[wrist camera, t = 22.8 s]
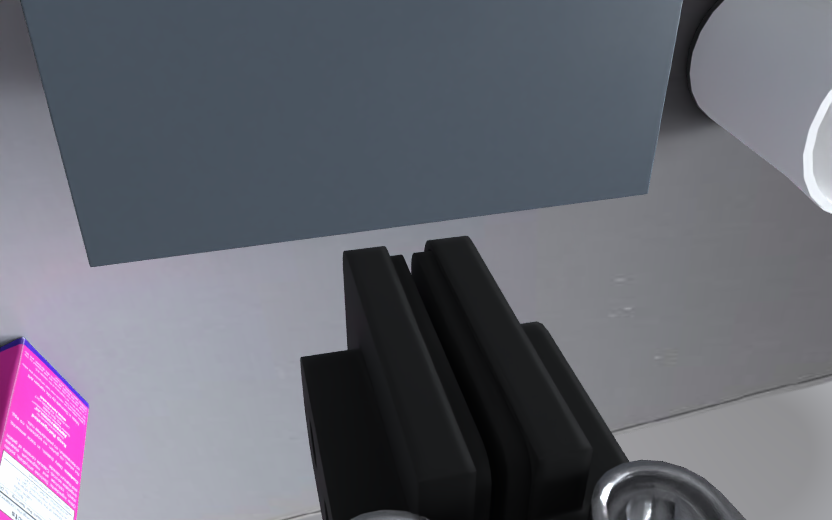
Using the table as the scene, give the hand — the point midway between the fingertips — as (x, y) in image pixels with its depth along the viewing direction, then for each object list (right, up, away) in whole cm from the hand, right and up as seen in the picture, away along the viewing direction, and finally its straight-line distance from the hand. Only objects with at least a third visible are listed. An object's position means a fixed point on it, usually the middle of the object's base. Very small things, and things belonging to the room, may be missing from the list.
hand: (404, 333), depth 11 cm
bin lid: (-1, +8, +12) cm, 14 cm away
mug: (+19, +13, +31) cm, 38 cm away
